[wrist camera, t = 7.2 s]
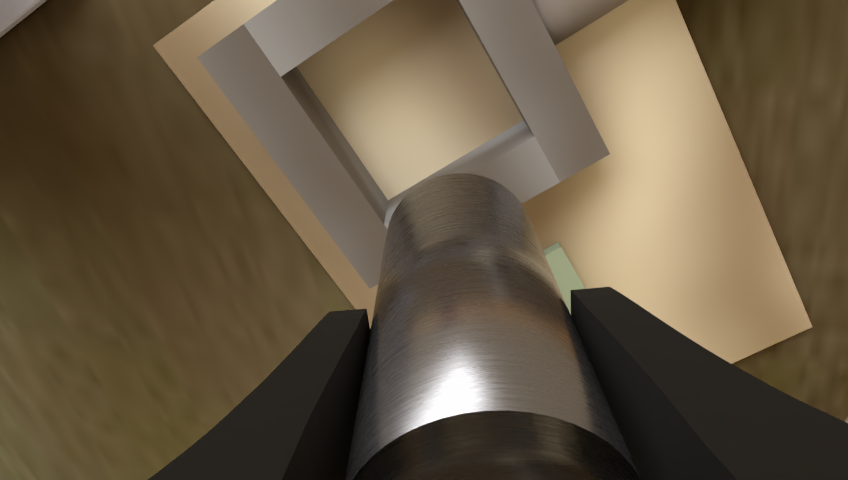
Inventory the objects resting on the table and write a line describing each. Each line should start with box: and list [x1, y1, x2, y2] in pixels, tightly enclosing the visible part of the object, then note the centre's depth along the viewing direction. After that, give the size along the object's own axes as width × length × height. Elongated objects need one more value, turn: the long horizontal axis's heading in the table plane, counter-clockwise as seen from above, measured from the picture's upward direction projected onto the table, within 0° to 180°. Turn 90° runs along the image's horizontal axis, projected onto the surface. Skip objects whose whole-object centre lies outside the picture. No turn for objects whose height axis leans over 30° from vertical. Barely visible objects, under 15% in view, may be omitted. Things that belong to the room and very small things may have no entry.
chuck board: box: [153, 0, 812, 364], centre depth 17 cm, size 17×19×2 cm
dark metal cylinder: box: [345, 173, 641, 480], centre depth 9 cm, size 3×3×9 cm
